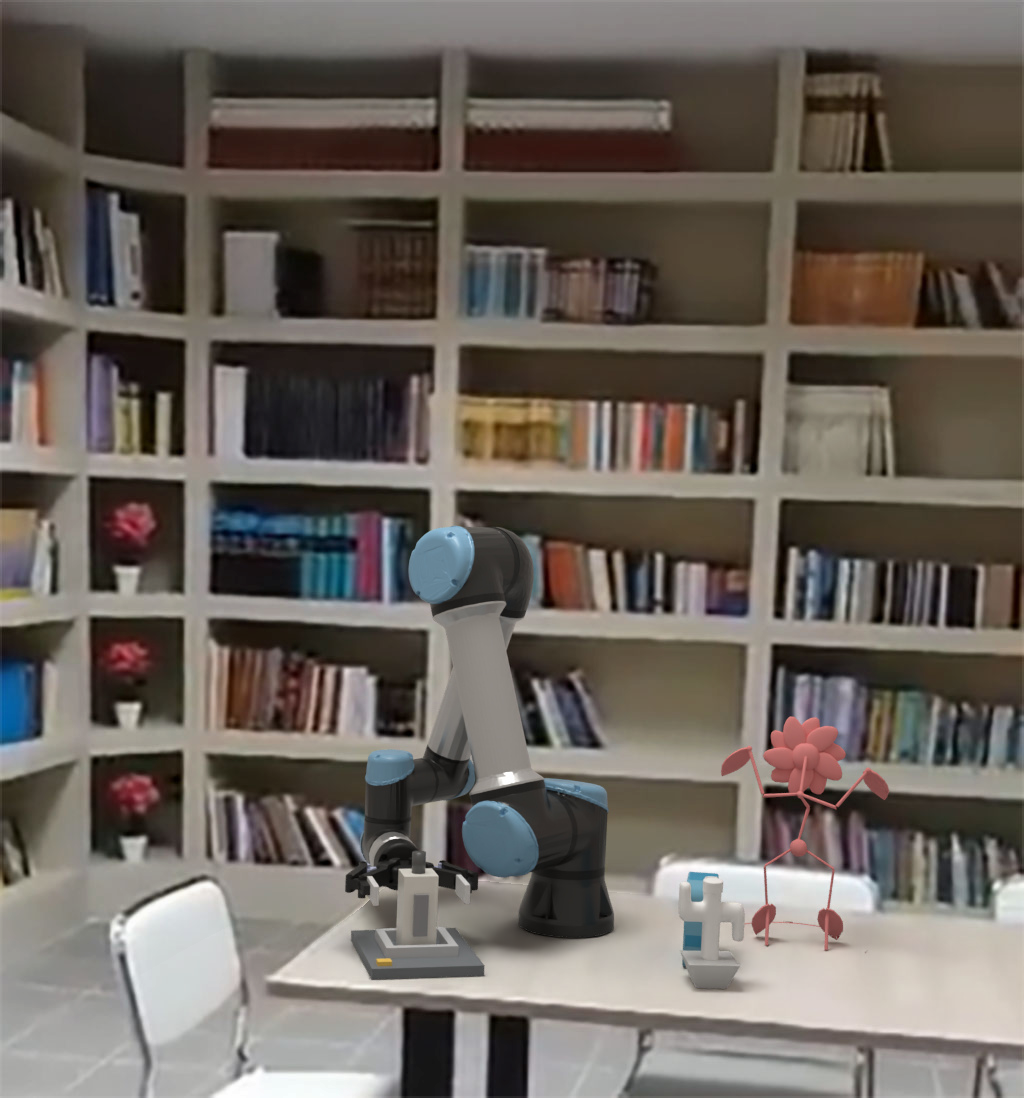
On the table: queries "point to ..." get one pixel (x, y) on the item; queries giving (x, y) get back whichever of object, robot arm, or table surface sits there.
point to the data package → (694, 929)
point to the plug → (417, 903)
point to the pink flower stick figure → (803, 764)
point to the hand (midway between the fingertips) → (422, 895)
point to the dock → (416, 955)
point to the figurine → (711, 934)
